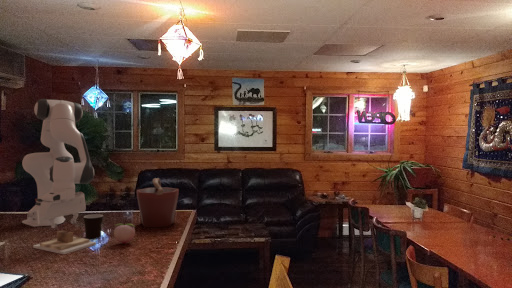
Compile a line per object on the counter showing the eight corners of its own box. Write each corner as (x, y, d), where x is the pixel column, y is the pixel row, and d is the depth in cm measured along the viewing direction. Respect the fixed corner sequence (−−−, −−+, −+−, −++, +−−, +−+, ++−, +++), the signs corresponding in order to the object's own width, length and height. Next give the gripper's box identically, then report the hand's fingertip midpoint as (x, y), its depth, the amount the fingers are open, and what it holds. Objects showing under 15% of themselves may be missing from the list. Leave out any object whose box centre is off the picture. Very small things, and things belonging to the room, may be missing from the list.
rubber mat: (33, 247, 169) (33, 245, 169) (65, 238, 183) (65, 236, 183) (63, 254, 159) (63, 252, 159) (96, 244, 174) (96, 242, 174)
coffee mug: (96, 239, 181) (96, 218, 181) (79, 238, 183) (79, 217, 183) (110, 233, 193) (110, 213, 193) (94, 232, 195) (94, 212, 194)
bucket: (170, 229, 202) (170, 181, 201) (128, 228, 203) (128, 180, 202) (181, 219, 227) (181, 176, 226) (143, 218, 227) (143, 175, 227)
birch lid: (39, 245, 168) (39, 233, 168) (68, 238, 181) (68, 226, 180) (61, 250, 162) (61, 237, 162) (89, 242, 174) (89, 230, 174)
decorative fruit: (112, 247, 170) (112, 224, 170) (114, 242, 178) (114, 220, 178) (135, 245, 173) (135, 223, 172) (135, 240, 181) (135, 219, 180)
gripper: (79, 190, 181) (79, 219, 182) (37, 196, 163) (37, 229, 164) (89, 191, 178) (88, 221, 179) (47, 198, 160) (47, 231, 161)
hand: (64, 225), depth 171 cm, fingers open, 8 cm apart
